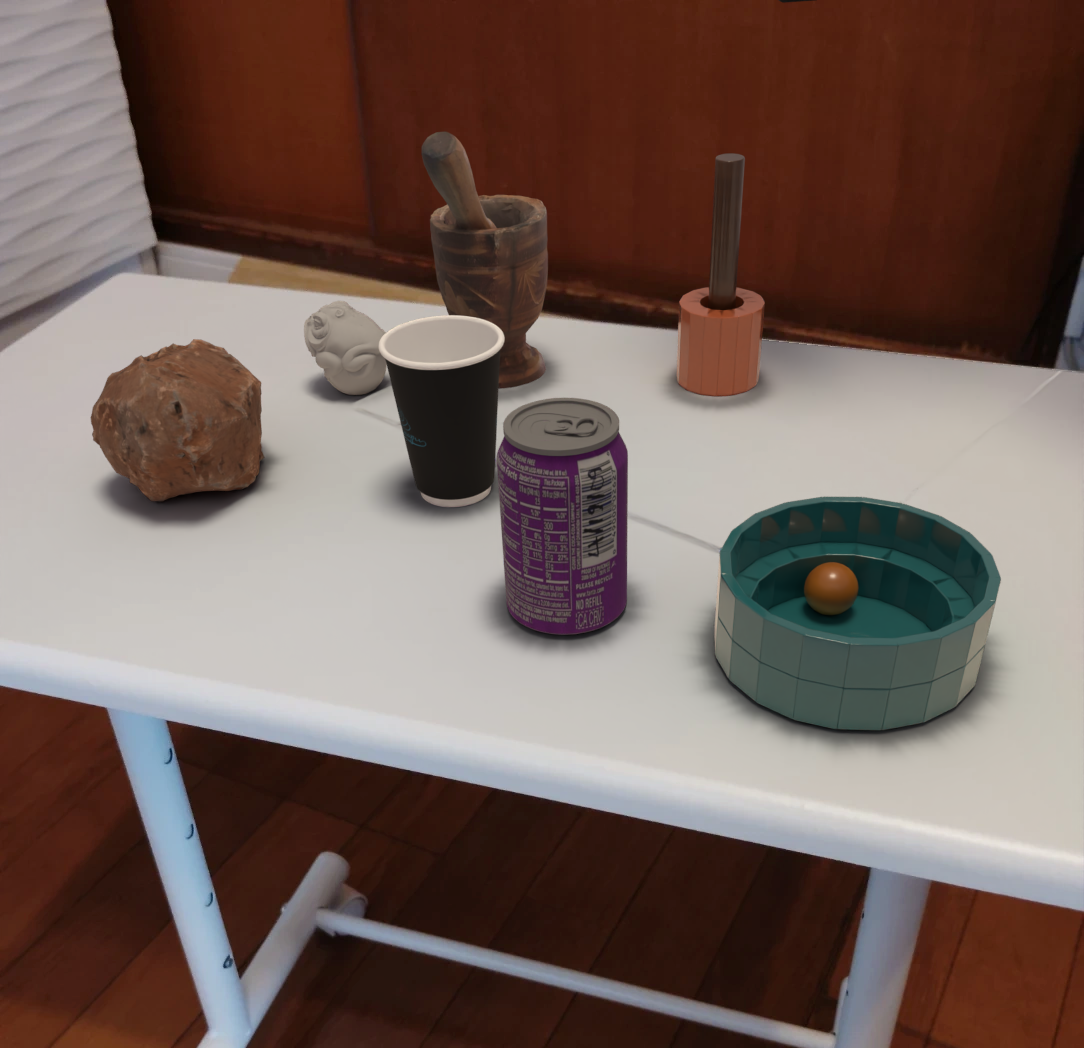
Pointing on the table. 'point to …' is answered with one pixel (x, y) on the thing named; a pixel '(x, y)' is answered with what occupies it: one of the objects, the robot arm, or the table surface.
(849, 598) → the bead
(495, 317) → the mortar and pestle
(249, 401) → the decorative rock
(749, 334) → the holder
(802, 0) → the robot arm
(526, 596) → the beverage can
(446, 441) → the dixie cup
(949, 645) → the bowl
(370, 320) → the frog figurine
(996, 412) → the table surface
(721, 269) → the stirring stick
